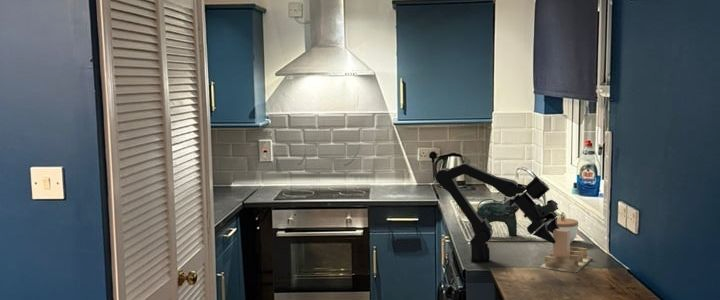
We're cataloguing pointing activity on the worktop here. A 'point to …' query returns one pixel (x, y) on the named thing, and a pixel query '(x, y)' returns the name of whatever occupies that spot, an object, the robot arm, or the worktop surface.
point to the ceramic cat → (500, 213)
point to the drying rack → (568, 260)
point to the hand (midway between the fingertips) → (558, 240)
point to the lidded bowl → (568, 226)
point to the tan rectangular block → (561, 243)
